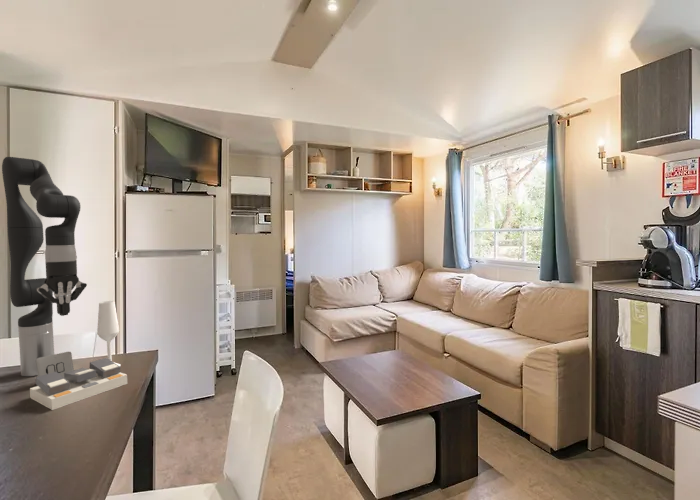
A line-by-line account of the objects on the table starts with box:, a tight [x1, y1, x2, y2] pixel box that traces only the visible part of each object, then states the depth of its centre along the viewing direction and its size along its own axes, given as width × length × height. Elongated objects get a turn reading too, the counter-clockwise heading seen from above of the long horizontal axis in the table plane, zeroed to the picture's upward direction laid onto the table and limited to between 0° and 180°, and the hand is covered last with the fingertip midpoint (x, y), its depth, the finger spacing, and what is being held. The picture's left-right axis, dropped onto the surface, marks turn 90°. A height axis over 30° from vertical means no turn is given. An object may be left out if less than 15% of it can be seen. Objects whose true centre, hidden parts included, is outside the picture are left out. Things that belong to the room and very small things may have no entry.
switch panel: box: [29, 371, 129, 411], centre depth 112 cm, size 15×20×4 cm
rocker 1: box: [35, 372, 70, 395], centre depth 106 cm, size 9×5×2 cm, turn 60°
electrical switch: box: [36, 351, 75, 377], centre depth 120 cm, size 9×5×9 cm, turn 141°
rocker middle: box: [64, 367, 97, 382], centre depth 112 cm, size 9×5×2 cm, turn 59°
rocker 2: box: [88, 357, 121, 378], centre depth 118 cm, size 9×5×2 cm, turn 60°
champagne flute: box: [96, 300, 121, 367], centre depth 132 cm, size 7×7×24 cm
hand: (63, 315), depth 113 cm, fingers closed
